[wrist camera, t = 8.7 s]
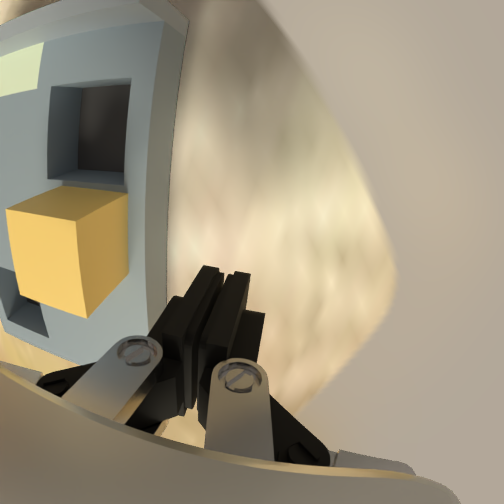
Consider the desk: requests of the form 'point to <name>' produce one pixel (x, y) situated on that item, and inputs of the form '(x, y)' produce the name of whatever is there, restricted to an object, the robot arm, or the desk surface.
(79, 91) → the board
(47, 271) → the block
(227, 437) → the robot arm
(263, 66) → the desk surface
